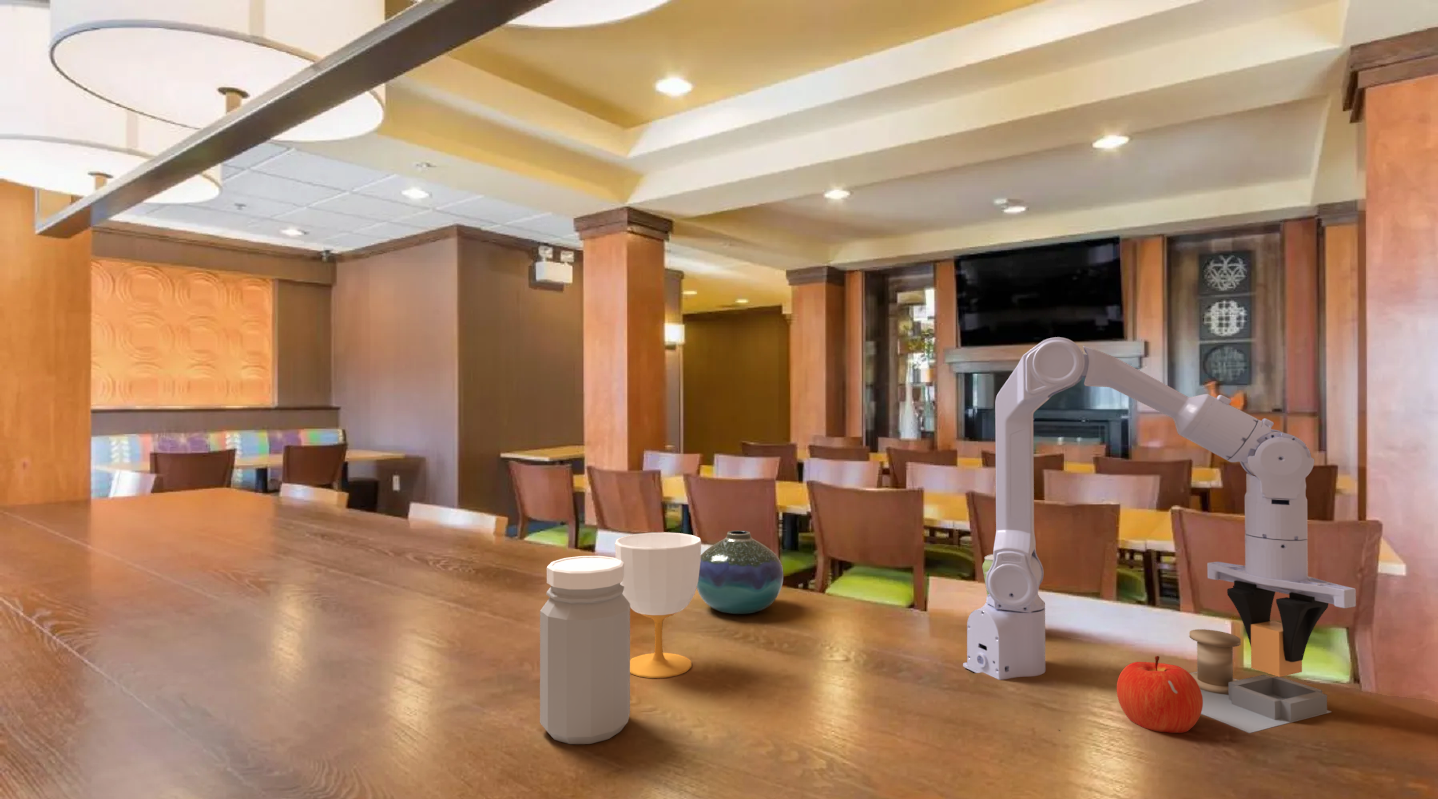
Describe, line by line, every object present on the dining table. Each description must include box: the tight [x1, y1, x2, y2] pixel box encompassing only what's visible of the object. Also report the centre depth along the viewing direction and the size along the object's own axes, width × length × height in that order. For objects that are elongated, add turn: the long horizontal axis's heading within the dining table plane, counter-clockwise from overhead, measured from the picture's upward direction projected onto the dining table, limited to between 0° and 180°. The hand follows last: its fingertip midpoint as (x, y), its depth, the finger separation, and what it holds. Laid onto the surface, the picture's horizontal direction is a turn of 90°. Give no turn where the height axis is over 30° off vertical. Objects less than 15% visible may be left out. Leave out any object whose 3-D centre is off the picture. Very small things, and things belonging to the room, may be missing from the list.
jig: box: [1189, 671, 1332, 734], centre depth 86 cm, size 14×14×3 cm
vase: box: [696, 530, 784, 615], centre depth 126 cm, size 15×15×13 cm
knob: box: [1188, 628, 1242, 695], centre depth 90 cm, size 6×6×6 cm
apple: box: [1116, 655, 1203, 734], centre depth 80 cm, size 8×8×8 cm
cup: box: [614, 532, 702, 679], centre depth 99 cm, size 12×12×17 cm
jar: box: [539, 555, 631, 745], centre depth 80 cm, size 10×10×18 cm
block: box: [1250, 620, 1303, 677], centre depth 84 cm, size 4×3×5 cm
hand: (1276, 655), depth 84 cm, fingers closed on block, 3 cm apart
